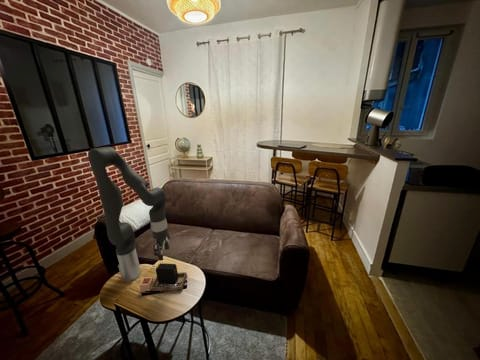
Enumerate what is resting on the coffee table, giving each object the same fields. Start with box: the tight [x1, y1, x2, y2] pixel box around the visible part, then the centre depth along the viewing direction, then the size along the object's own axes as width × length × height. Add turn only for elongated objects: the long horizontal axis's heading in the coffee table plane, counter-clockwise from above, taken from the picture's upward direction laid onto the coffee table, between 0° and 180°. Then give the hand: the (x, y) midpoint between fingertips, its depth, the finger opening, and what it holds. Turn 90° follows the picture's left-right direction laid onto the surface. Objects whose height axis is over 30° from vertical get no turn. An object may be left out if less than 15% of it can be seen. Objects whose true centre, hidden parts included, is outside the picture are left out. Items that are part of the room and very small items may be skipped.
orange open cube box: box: [139, 276, 155, 293], centre depth 103 cm, size 5×5×5 cm
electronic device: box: [155, 262, 179, 284], centre depth 106 cm, size 4×10×10 cm, turn 84°
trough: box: [150, 271, 188, 293], centre depth 106 cm, size 16×10×3 cm, turn 90°
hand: (164, 254), depth 101 cm, fingers open, 8 cm apart
